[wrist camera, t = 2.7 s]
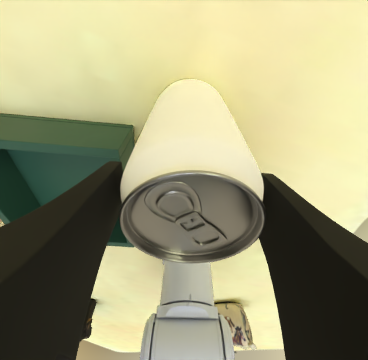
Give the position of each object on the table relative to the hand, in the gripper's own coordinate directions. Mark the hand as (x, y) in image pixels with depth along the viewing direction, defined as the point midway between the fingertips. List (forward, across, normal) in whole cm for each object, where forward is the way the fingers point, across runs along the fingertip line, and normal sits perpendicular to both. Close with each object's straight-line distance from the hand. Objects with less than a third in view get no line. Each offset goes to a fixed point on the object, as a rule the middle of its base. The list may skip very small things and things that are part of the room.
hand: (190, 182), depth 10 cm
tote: (+9, +12, +8) cm, 17 cm away
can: (+9, 0, 0) cm, 9 cm away
